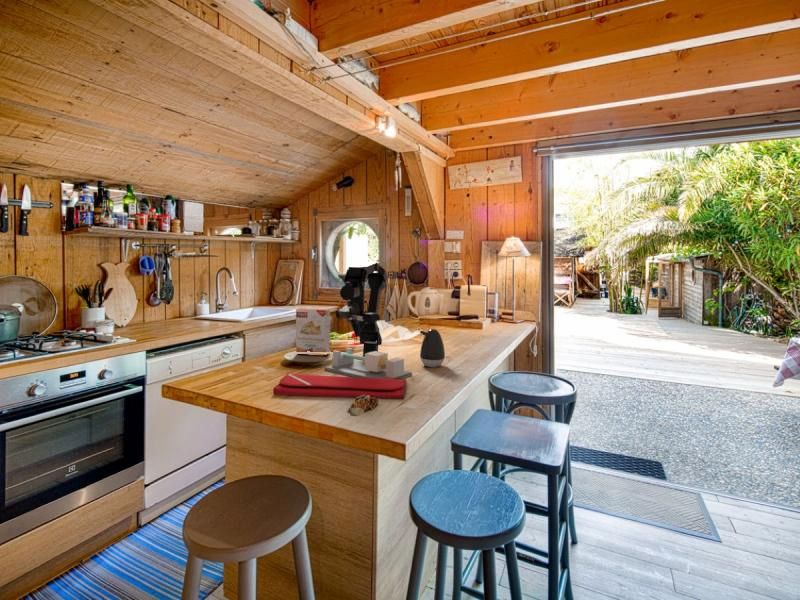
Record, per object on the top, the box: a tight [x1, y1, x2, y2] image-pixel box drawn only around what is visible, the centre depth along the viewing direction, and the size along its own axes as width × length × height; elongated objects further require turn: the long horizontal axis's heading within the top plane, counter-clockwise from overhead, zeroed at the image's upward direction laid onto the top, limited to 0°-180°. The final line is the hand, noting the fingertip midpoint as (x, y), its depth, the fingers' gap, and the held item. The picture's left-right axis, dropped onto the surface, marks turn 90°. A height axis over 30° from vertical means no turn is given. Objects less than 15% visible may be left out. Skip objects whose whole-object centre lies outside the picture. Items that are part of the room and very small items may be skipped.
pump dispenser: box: [419, 328, 446, 368], centre depth 169 cm, size 10×10×15 cm
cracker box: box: [295, 307, 331, 353], centre depth 186 cm, size 14×6×21 cm, turn 81°
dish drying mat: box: [272, 373, 407, 400], centre depth 136 cm, size 16×41×4 cm, turn 87°
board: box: [324, 347, 413, 380], centre depth 158 cm, size 16×30×7 cm, turn 53°
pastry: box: [347, 394, 380, 417], centre depth 119 cm, size 7×12×4 cm, turn 167°
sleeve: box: [364, 350, 389, 372], centre depth 155 cm, size 6×6×6 cm
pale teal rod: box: [340, 351, 389, 369], centre depth 158 cm, size 4×29×4 cm, turn 53°
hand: (357, 336), depth 165 cm, fingers closed
